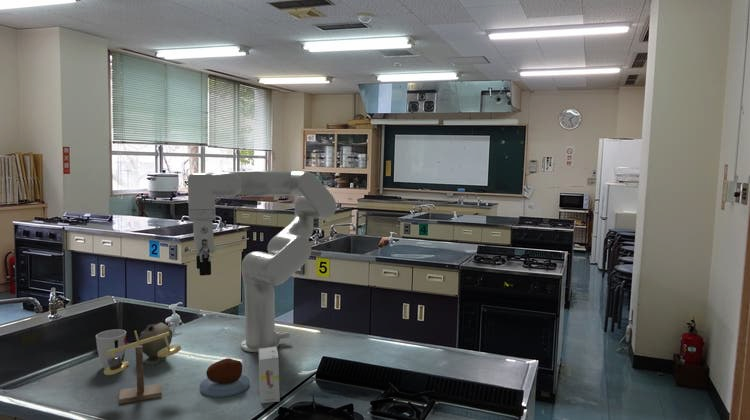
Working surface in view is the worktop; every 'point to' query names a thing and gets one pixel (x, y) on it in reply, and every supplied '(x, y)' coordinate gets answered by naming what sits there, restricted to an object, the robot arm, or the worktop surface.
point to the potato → (225, 371)
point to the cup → (110, 344)
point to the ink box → (269, 375)
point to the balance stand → (140, 384)
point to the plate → (224, 387)
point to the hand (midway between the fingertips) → (203, 271)
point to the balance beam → (116, 362)
